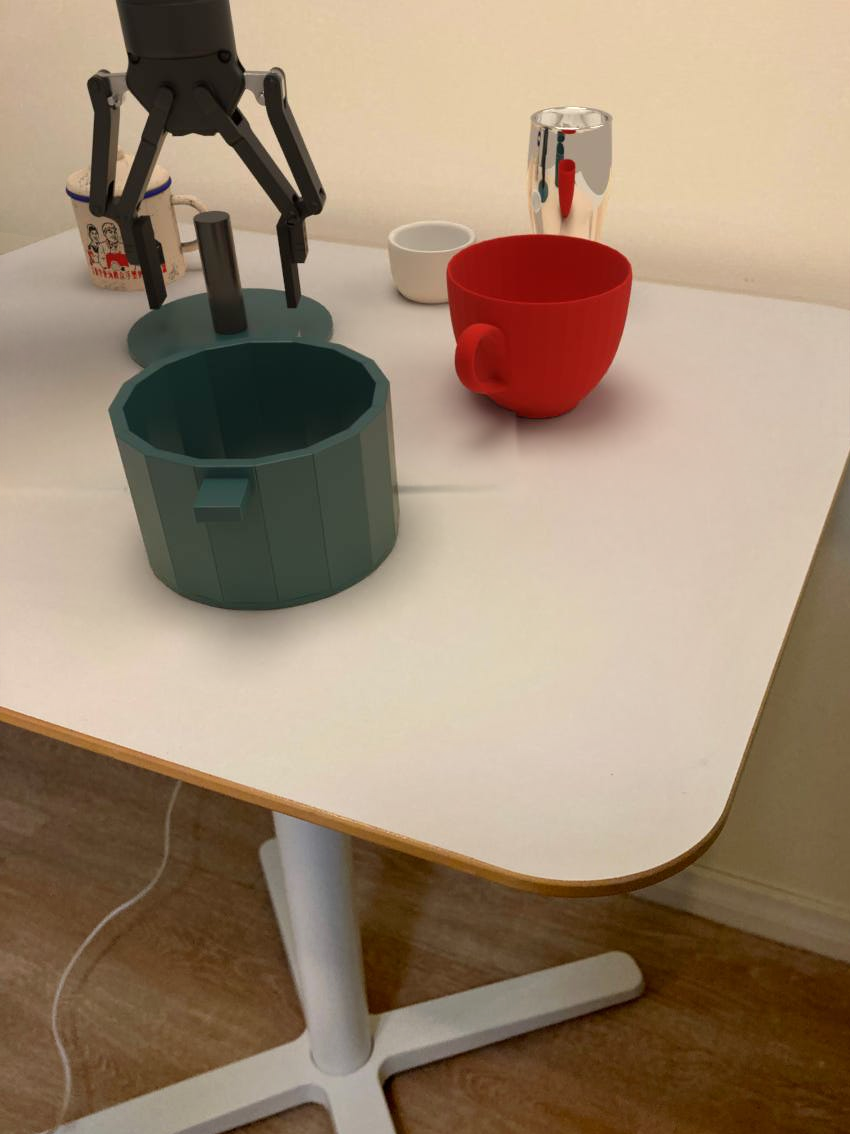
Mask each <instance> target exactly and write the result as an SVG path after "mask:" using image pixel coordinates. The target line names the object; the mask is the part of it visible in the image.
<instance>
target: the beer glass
mask: <svg viewBox="0 0 850 1134" xmlns="http://www.w3.org/2000/svg"><path fill="white" fill-rule="evenodd" d="M529 118H530V119H529V121H530V123H529V124H530V125H529V135H528V144H527V145H528V146H527V156H526V157H527V159H526V192H527V202H528V203H527V204H528V212H529V219H530V224H531V225H530V227H531V231H532V234H550V235H564V236H571V237H578V238H583V239H587V240H591V241H595V242H598V243H600V238H601V234H602V230H603V226H604V221H605V218H606V212H607V208H608V203H609V198H610V197H609V196H610V192H611V185H612V173H613V120H614V119H613V116H612V115H611V114H610V113H609V112H607V111H604V110H601V109H598V108H593V107H585V106H557V107H550V108H545V109H544V108H543V109H541V110H538V111H535V112H534V113H532V114H531V116H530V117H529Z"/></svg>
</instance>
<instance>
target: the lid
mask: <svg viewBox="0 0 850 1134" xmlns="http://www.w3.org/2000/svg"><path fill="white" fill-rule="evenodd" d="M192 221H193V226H194V232H195V237H196V239H197V243H198V248H199V249H198V253H199V259H200V263H201V269H202V275H203V279H204V284H205V291H206V292H200V293H197V294H192V295H188V296H185V297H181V298H178V299H174V300H172V301H169V302H167V303H165V304H164V303H163V304H162V306H161V307H160V309H153V310H150V311H148V312H147V313H145V314H144V315H143V316H140V318H139V319H137V321H136V322H134V324H133V325H132V326H131V327H130V329H129V331H128V333H127V337H126V343H127V344H126V345H127V349H128V352H129V354H130V356H131V358H132V359H133V360H134V361H135V362H136V363H137V364H138V365H139V366H141V367H142V368H144V369H145V368H147V367H148V366H149V365H151V364H152V363H154V362H156V361H158V360H161V359H163V358H166V357H169V356H172V355H174V354H177V353H180V352H183V351H185V350H188V349H191V348H194V347H196V346H200V345H205V344H211V343H216V342H222V341H228V340H234V339H240V338H245V337H261V335H262V332H263V330H264V329H300V334H301V337H304V338H309V339H315V340H320V341H326V342H330V340H331V339H332V336H333V333H334V322H333V321H334V319H333V316H332V315H331V313H330V311H329V309H327V307H326V306H324V305H323V304H322V303H321V302H319V301H317V300H315V299H314V298H311V297H309V296H306V295H303V294H301V297H300V300H299V303H298V306H297V308H287V302H286V295H285V290H282V289H274V288H259V287H258V288H256V287H255V288H254V287H244V288H243V287H242V282H241V275H240V269H239V262H238V258H237V250H236V244H235V239H234V232H233V227H232V221H231V216H230V214H229V213H228V212H226V211H222V210H209V211H207V212H202V213H199V212H198V213H197V214H195V215H194V216H193V218H192Z"/></svg>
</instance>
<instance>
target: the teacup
mask: <svg viewBox="0 0 850 1134" xmlns="http://www.w3.org/2000/svg"><path fill="white" fill-rule="evenodd" d="M387 237H388V238H387V252H388V253H387V254H388V260H389V266H390V273H391V275H392V280H393V282H394V284H395V286H396V288H397V290H398V291H399V292H400V293H401V295H402V296H403V297H405V298H406V299H407V300H410V301H411V302H415V303H420V304H431V305H432V304H433V305H436V304H445V303H449V301H448V292H447V280H446V271H447V266H448V263H449V261H450V260H451V259H452V257H453V256H454V255H456V254H457V253H458V252H459V251H461V250H463V249H465V248H467V247H469V246H471V245H474V244H477V243H478V242H477V235H476V234H475V231H474V230H473V229H472V228H470V227H468V226H467V225H464V224H461V223H458V222H452V221H446V220H421V221H414V222H409V223H405V224H402V225H400V226H398V227H396V228H393V230H391V231H390V232H389V234H388V236H387Z"/></svg>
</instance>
